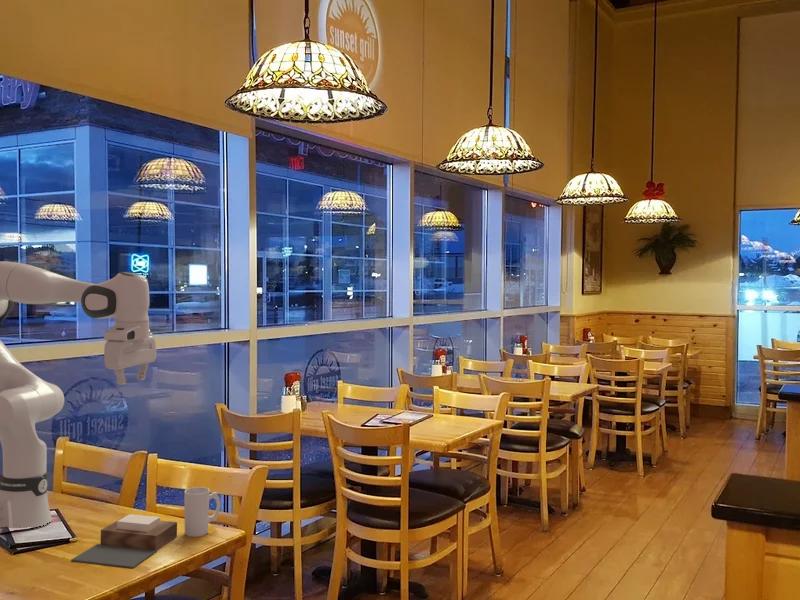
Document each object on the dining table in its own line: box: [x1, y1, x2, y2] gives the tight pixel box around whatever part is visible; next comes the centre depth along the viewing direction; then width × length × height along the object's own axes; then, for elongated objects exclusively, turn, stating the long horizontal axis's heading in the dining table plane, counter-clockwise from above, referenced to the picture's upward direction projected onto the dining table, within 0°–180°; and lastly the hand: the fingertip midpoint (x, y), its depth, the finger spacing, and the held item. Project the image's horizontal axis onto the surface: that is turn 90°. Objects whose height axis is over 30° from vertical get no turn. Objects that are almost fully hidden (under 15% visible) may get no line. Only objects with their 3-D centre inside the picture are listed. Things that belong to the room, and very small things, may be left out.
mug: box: [183, 486, 221, 538], centre depth 206 cm, size 10×7×12 cm, turn 119°
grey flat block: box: [116, 513, 161, 532], centre depth 198 cm, size 9×6×2 cm, turn 79°
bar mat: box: [70, 543, 158, 569], centre depth 187 cm, size 17×11×1 cm, turn 79°
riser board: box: [100, 516, 178, 551], centre depth 199 cm, size 16×11×4 cm
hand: (131, 382), depth 203 cm, fingers open, 8 cm apart
